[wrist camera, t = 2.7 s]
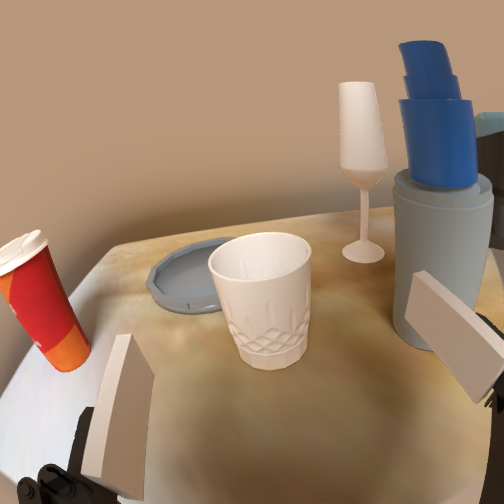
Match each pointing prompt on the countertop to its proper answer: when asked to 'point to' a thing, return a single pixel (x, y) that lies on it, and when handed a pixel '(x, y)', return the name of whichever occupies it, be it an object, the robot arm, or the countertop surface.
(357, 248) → the champagne flute
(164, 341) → the countertop surface
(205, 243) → the plate
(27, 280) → the coffee cup
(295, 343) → the white cup
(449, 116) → the spray bottle
